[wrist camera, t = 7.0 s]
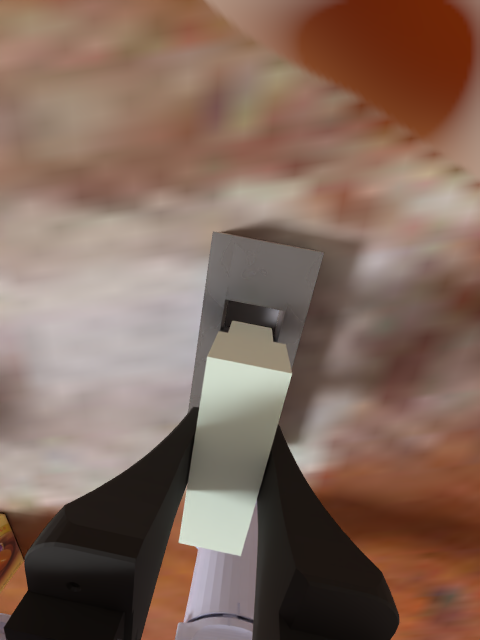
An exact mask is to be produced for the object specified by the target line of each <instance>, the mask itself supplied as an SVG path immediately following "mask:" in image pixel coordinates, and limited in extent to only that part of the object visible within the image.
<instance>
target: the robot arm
mask: <svg viewBox="0 0 480 640" xmlns="http://www.w3.org/2000/svg"><path fill="white" fill-rule="evenodd" d="M198 413H199V407H193V408H191V410H190V411H189V413H188V414H187V415H186V416H185V418H184V419H183V420H182V421H181V422H180V423H179V425H178V426H177V427H176V428H175V429H174V430H173V431H172V432H171V433H170V434H169V435H168V436H167V437H166V438H165V439H164V440H163V441H162V442H161V443H160V444H159V445H157V446H156V447H155V448H154V449H153V450H152V451H151V452H149V453H148V454H147V455H146V456H145V457H143V458H142V459H141V460H139V461H138V462H137V463H135V464H134V465H133V466H131V467H130V468H128V469H127V470H126V471H124V472H123V473H121V474H120V475H118V476H117V477H115V478H113V479H112V480H110V481H108V482H107V483H105V484H104V485H102V486H100V487H99V488H97V489H95V490H93V491H92V492H90V493H88V494H86V495H84V496H82V497H80V498H78V499H76V500H74V501H72V502H70V503H68V504H66V505H64V507H63V508H62V509H61V510H60V511H59V512H58V513H57V514H56V515H55V517H54V518H53V519H52V520H51V521H50V522H49V523H48V525H47V526H46V527H45V528H44V530H43V531H42V532H41V534H40V535H39V537H38V538H37V539H36V541H35V542H34V543H33V545H32V546H31V547H30V549H29V550H28V552H27V554H26V555H25V563H24V564H25V572H26V579H27V585H28V591H27V593H26V594H25V596H24V597H23V599H22V600H21V602H20V603H19V605H18V606H17V608H16V609H15V611H14V612H13V614H12V615H7V614H3V613H0V640H141V637H142V633H143V629H144V626H145V622H146V618H147V614H148V611H149V607H150V603H151V600H152V596H153V593H154V589H155V585H156V582H157V578H158V575H159V571H160V567H161V564H162V560H163V557H164V553H165V550H166V546H167V543H168V539H169V536H170V532H171V529H172V525H173V522H174V518H175V515H176V512H177V510H178V507H179V504H180V501H181V499H182V496H183V493H184V491H185V488H186V485H187V483H188V479H189V472H190V466H191V459H192V453H193V446H194V440H195V433H196V426H197V420H198ZM196 548H197V549H198V554H197V559H196V564H195V569H194V574H193V579H192V584H191V589H190V594H189V599H188V604H187V609H186V614H185V619H184V623H183V622H179V623H178V627H177V632H176V637H175V640H390V639H391V638H392V636H393V635H394V634H395V632H396V630H397V627H398V625H399V614H398V611H397V608H396V605H395V603H394V600H393V597H392V595H391V592H390V589H389V587H388V585H387V583H386V581H385V578H384V576H383V574H382V572H381V571H380V570H379V569H378V568H377V567H376V566H375V565H374V564H373V563H372V562H371V561H370V560H369V559H368V558H367V557H366V556H365V555H364V554H363V553H362V551H361V550H360V549H359V548H358V547H357V546H356V545H355V544H354V543H353V542H352V541H351V540H350V538H349V537H348V536H347V535H346V534H345V533H344V532H343V531H342V529H341V528H340V527H339V526H338V524H337V523H336V522H335V521H334V519H333V518H332V517H331V516H330V514H329V513H328V512H327V511H326V509H325V508H324V507H323V505H322V504H321V502H320V501H319V500H318V498H317V497H316V495H315V494H314V492H313V491H312V489H311V487H310V486H309V484H308V483H307V481H306V479H305V478H304V476H303V474H302V472H301V471H300V469H299V467H298V465H297V463H296V461H295V459H294V457H293V455H292V453H291V452H290V449H289V447H288V445H287V443H286V441H285V438H284V436H283V434H282V431H281V429H280V426H279V425H278V426H277V429H276V433H275V436H274V440H273V443H272V447H271V451H270V454H269V458H268V461H267V465H266V468H265V472H264V475H263V479H262V483H261V486H260V490H259V493H258V497H257V500H256V504H255V507H254V511H253V515H252V518H251V522H250V525H249V529H248V532H247V536H246V539H245V543H244V547H243V550H242V554H241V556H238V555H233V554H229V553H224V552H219V551H215V550H210V549H205V548H201V547H196Z"/></svg>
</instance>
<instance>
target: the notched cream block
mask: <svg viewBox="0 0 480 640" xmlns="http://www.w3.org/2000/svg"><path fill="white" fill-rule="evenodd" d="M291 376H292V371H291V366H290V361H289V357H288V352H287V348H286V344H282V343H277V342H273V335H272V328H268V327H263V326H258V325H253V324H248V323H243V322H237V321H232V323H231V326H230V328H229V331H228V333H226V332H221V331H218V334H217V336H216V338H215V340H214V342H213V345H212V347H211V349H210V351H209V354H208V356H207V361H206V368H205V374H204V381H203V387H202V394H201V400H200V407H199V413H198V420H197V426H196V433H195V440H194V446H193V453H192V459H191V466H190V472H189V479H188V485H187V492H186V499H185V505H184V512H183V518H182V525H181V531H180V538H179V543H182V544H187V545H191V546H196V547H201V548H205V549H210V550H215V551H219V552H224V553H229V554H233V555H238V556H241V554H242V550H243V547H244V543H245V539H246V536H247V532H248V529H249V525H250V522H251V518H252V515H253V511H254V507H255V504H256V500H257V497H258V493H259V490H260V486H261V483H262V479H263V475H264V472H265V468H266V465H267V461H268V458H269V454H270V451H271V447H272V443H273V440H274V436H275V433H276V429H277V426H278V422H279V419H280V415H281V411H282V408H283V404H284V401H285V397H286V394H287V390H288V387H289V383H290V379H291Z"/></svg>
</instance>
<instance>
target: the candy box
mask: <svg viewBox="0 0 480 640" xmlns="http://www.w3.org/2000/svg"><path fill="white" fill-rule="evenodd" d="M23 562H24V559H23V557H22V554H21V552H20V549H19V547H18V545H17V542H16V540H15V537H14V535H13V533H12V530H11V528H10V525H9V523H8V521H7V519H6V516H5V514H0V593H1V591H2V590H3V589H4V587H5V586H6V585H7V583H8V582H9V580H10V579H11V578H12V576H13V575H14V574H15V572H16V571H17V570H18V568H19V567H20V565H21V564H22V563H23Z"/></svg>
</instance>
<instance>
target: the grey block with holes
mask: <svg viewBox="0 0 480 640" xmlns="http://www.w3.org/2000/svg"><path fill="white" fill-rule="evenodd" d="M323 255H324V253H323V252H320V251H316V250H312V249H306V248H301V247H296V246H291V245H285V244H280V243H275V242H270V241H264V240H259V239H254V238H249V237H243V236H238V235H233V234H228V233H222V232H213V235H212V242H211V249H210V257H209V264H208V271H207V279H206V286H205V293H204V300H203V308H202V315H201V322H200V330H199V337H198V344H197V352H196V359H195V366H194V374H193V381H192V388H191V396H190V403H189V410H188V413H189V411H190V410H191V408H193V407H200V400H201V394H202V387H203V381H204V374H205V368H206V361H207V356H208V354H209V351H210V349H211V347H212V345H213V342H214V340H215V338H216V336H217V334H218V331H221V332H226V333H228V331H229V328H230V327H226V326H224V325H225V319H226V313H227V308H228V302H229V300H231V301H236V302H241V303H246V304H252V305H257V306H262V307H267V308H272V309H277V310H279V315H278V319H277V323H276V327H275V331H274V335H273V342H277V343H282V344H286V348H287V352H288V357H289V361H290V366H291V370H292V366H293V362H294V359H295V355H296V352H297V348H298V344H299V341H300V337H301V334H302V330H303V327H304V323H305V319H306V316H307V312H308V309H309V305H310V301H311V298H312V294H313V291H314V287H315V283H316V280H317V276H318V273H319V269H320V266H321V262H322V258H323Z"/></svg>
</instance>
